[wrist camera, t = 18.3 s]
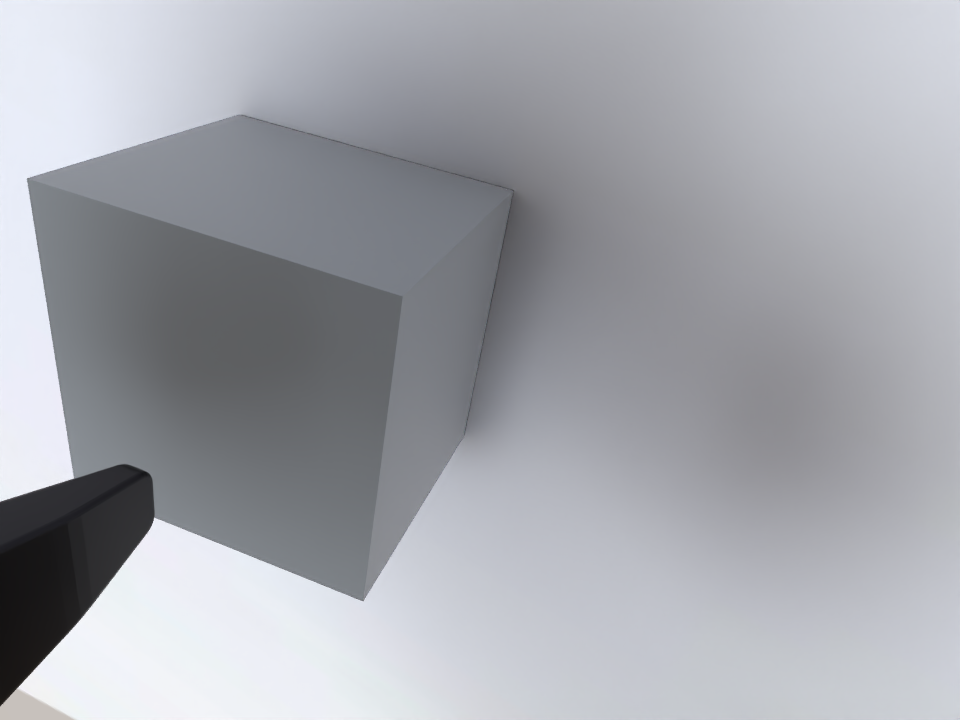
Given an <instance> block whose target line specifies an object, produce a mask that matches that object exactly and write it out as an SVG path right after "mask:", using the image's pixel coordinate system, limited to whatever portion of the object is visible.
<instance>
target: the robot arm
mask: <svg viewBox="0 0 960 720" xmlns="http://www.w3.org/2000/svg"><path fill="white" fill-rule="evenodd" d="M154 516H155V509H154V493H153V480H152V477H151V475H150V474H149V473H148V472H146V471H144V470H141V469H139V468H136V467H134V466H132V465H128V464H120V465H116V466H113V467H110V468H106V469H103V470H100V471H97V472H94V473H90V474H87V475H84V476H81V477H78V478H74V479H71V480H68V481H65V482H62V483H58V484H55V485H52V486H49V487H46V488H42V489H39V490H36V491H33V492H30V493H26V494H23V495H20V496H17V497H14V498H11V499H7V500H4V501H1V502H0V706H1V705H2V704H3V703H4V702H5V701H6V700H7V699H8V698H9V696H10V695H11V694H12V693H13V692H14V691H15V690H16V689H17V688H18V687H19V686H20V685H21V684H22V682H23V681H24V680H25V679H26V678H27V677H28V676H29V675H30V674H31V673H32V672H33V671H34V669H35V668H36V667H37V666H38V665H39V664H40V663H41V662H42V661H43V660H44V659H45V658H46V657H47V655H48V654H49V653H50V652H51V651H52V650H53V649H54V648H55V647H56V646H57V645H58V644H59V643H60V641H61V640H62V639H63V638H64V637H65V636H66V635H67V634H68V633H69V632H70V631H71V630H72V628H73V627H74V626H75V625H76V624H77V623H78V622H79V621H80V619H81V618H82V617H83V616H84V615H85V613H86V612H87V611H88V610H89V608H90V607H91V606H92V605H93V603H94V602H95V601H96V599H97V598H98V597H99V596H100V594H101V593H102V592H103V590H104V589H105V588H106V586H107V585H108V584H109V582H110V581H111V580H112V579H113V577H114V576H115V575H116V573H117V572H118V571H119V569H120V568H121V567H122V565H123V564H124V563H125V561H126V560H127V559H128V558H129V556H130V555H131V554H132V552H133V551H134V550H135V548H136V547H137V546H138V544H139V543H140V542H141V540H142V539H143V538H144V537H145V535H146V534H147V533H148V531H149V530H150V528H151V526H152V523H153V521H154Z"/></svg>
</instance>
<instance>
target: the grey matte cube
mask: <svg viewBox="0 0 960 720" xmlns="http://www.w3.org/2000/svg"><path fill="white" fill-rule="evenodd" d="M27 182H28V188H29V194H30V201H31V207H32V213H33V220H34V226H35V233H36V239H37V245H38V252H39V258H40V264H41V271H42V277H43V283H44V290H45V296H46V302H47V309H48V315H49V321H50V328H51V334H52V341H53V347H54V353H55V360H56V366H57V372H58V379H59V385H60V391H61V398H62V404H63V410H64V417H65V423H66V429H67V436H68V442H69V449H70V455H71V461H72V468H73V474H74V478H78V477H81V476H84V475H87V474H90V473H94V472H97V471H100V470H103V469H106V468H110V467H113V466H116V465H120V464H128V465H132V466H134V467H136V468H139V469H141V470H144V471H146V472H148V473H149V474H150V475H151V477H152V480H153V493H154V509H155V516H154V517H155V518H157V519H160V520H162V521H165V522H167V523H170V524H172V525H175V526H177V527H180V528H182V529H185V530H187V531H190V532H192V533H195V534H197V535H200V536H202V537H205V538H207V539H209V540H212V541H214V542H217V543H219V544H222V545H224V546H227V547H229V548H232V549H234V550H237V551H239V552H242V553H244V554H247V555H249V556H252V557H254V558H257V559H259V560H262V561H264V562H267V563H269V564H272V565H274V566H277V567H279V568H282V569H284V570H287V571H289V572H292V573H294V574H297V575H299V576H302V577H304V578H306V579H309V580H311V581H314V582H316V583H319V584H321V585H324V586H326V587H329V588H331V589H334V590H336V591H339V592H341V593H344V594H346V595H349V596H351V597H354V598H356V599H359V600H361V601H364V599H365V597H366V596H367V594H368V593H369V591H370V589H371V588H372V586H373V584H374V583H375V581H376V579H377V578H378V576H379V575H380V573H381V571H382V570H383V568H384V566H385V565H386V563H387V561H388V560H389V558H390V557H391V555H392V553H393V552H394V550H395V548H396V547H397V545H398V543H399V542H400V540H401V538H402V537H403V535H404V534H405V532H406V530H407V529H408V527H409V525H410V524H411V522H412V520H413V519H414V517H415V516H416V514H417V512H418V511H419V509H420V507H421V506H422V504H423V502H424V501H425V499H426V497H427V496H428V494H429V493H430V491H431V489H432V488H433V486H434V484H435V483H436V481H437V479H438V478H439V476H440V475H441V473H442V471H443V470H444V468H445V466H446V465H447V463H448V461H449V460H450V458H451V456H452V455H453V453H454V452H455V450H456V448H457V447H458V445H459V443H460V442H461V440H462V438H463V437H464V433H465V428H466V423H467V418H468V414H469V409H470V404H471V399H472V394H473V389H474V384H475V379H476V374H477V369H478V364H479V359H480V354H481V349H482V344H483V339H484V334H485V329H486V324H487V319H488V314H489V309H490V304H491V299H492V295H493V290H494V285H495V280H496V275H497V270H498V265H499V260H500V255H501V250H502V245H503V240H504V235H505V230H506V225H507V220H508V215H509V210H510V205H511V200H512V195H513V190H510V189H506V188H503V187H499V186H495V185H492V184H488V183H484V182H481V181H477V180H474V179H470V178H466V177H463V176H459V175H456V174H452V173H448V172H445V171H441V170H437V169H434V168H430V167H427V166H423V165H419V164H416V163H412V162H409V161H405V160H401V159H398V158H394V157H390V156H387V155H383V154H380V153H376V152H372V151H369V150H365V149H362V148H358V147H354V146H351V145H347V144H344V143H340V142H336V141H333V140H329V139H325V138H322V137H318V136H315V135H311V134H307V133H304V132H300V131H297V130H293V129H289V128H286V127H282V126H278V125H275V124H271V123H268V122H264V121H260V120H257V119H253V118H250V117H246V116H242V115H237V116H233V117H230V118H227V119H223V120H220V121H217V122H213V123H210V124H207V125H203V126H200V127H197V128H193V129H190V130H187V131H183V132H180V133H177V134H173V135H170V136H167V137H163V138H160V139H157V140H153V141H150V142H147V143H143V144H140V145H137V146H133V147H130V148H127V149H123V150H120V151H117V152H113V153H110V154H107V155H104V156H100V157H97V158H94V159H90V160H87V161H84V162H80V163H77V164H74V165H70V166H67V167H64V168H60V169H57V170H54V171H50V172H47V173H44V174H40V175H37V176H34V177H30V178H27Z"/></svg>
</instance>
